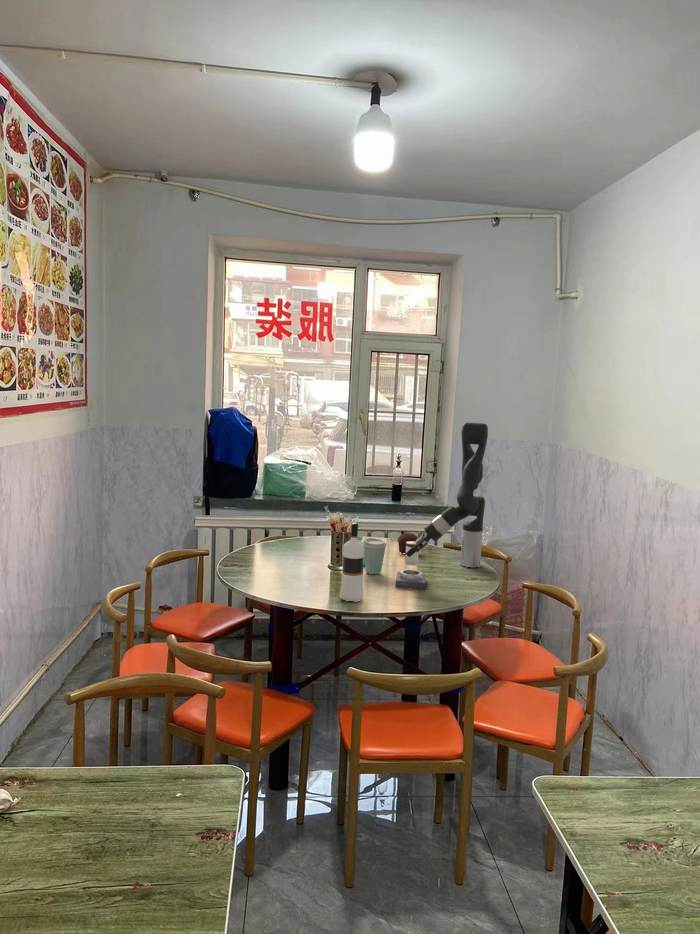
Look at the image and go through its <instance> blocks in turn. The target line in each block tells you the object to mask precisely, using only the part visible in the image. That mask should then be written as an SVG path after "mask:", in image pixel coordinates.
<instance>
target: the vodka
mask: <svg viewBox="0 0 700 934" xmlns="http://www.w3.org/2000/svg"><path fill="white" fill-rule="evenodd" d="M350 531H351V532H350V540H347V541H345V543H344V544H343V546H342V568H341V569H342V572H341V584H340V586H341V587H340V590H339V598H342V599H344V600H349V601H357V600H361V601H363V600H364V586H363V584H364V583H363V581H364V580H363V578H364V565H363V562H364V551H365V548H364V545H363V544H362V543H361V541H360V540H358V539H359V538H358V537H359V535H358V534H359V523H357V522H351V529H350ZM342 599H341V600H342Z"/></svg>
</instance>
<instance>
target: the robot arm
mask: <svg viewBox="0 0 700 934" xmlns="http://www.w3.org/2000/svg"><path fill="white" fill-rule="evenodd" d="M488 436H489V428H488V424H487V423H479V422H465V423H463V424H462V428H461V449H462V450H461V451H462V459H461V460H462V461H461V485H460V487H459V489H458V492H457V496H456V500H457V501H456V502H457V506H454V507H453V506H450V507H448V508H447V509H445V510H444V511H442V512H441V513H440V514H439V515H437V516H436V517H435V518H433V520H431V521H430V522H429V523H428V524H426V526H424V528H423V530H424V531H425V532H424V533H422V534H421V535H420V536H419V537H418V539H417V540H416V541H415V542H416V544H415V545H414V546H413V547H412V548H411V549H410V550H409V551H408V552H407V553H406V555H407V556H408V557H410V556H412V555H413V554H414V553H415V552H418V551H419V552H420V551H421V550H422V549H423V548H424V547H426V546H427V545H428V544H429V543H430V540H432V541H433V542H437V541H439V539H441V538H442V537H443V536H445V534H447V533H448V532H450V531H449V530H451V528H453V527H454V526H455V525H456V524H457V523H458V522H459V521H461V520H463V519H465V518H467V517H470V516H471V517H475V518H474V519H473V520H471V521H470V520H469V521H466V522H464V523H463V524H462V535H461V536H462V537H461V547H460V548H461V552H460V563H459V564H461V565H462V567H463V566H465V568H468V567H471V568H470V569H476V568H475V567H478V568H480V567H481V559H482V558H481V557H482V543H483V527H484V525H483V524H484V515H485V510H486V509H485V508H486V500H485V499H486V498H485V497H483V496H476V495H474V492H475V490H477V489H478V488H479V484H480V483H481V481H482V479H483V476H484V475H483V474H484V473H483V472H484V466H483V460H484V456H485V451H486V448H487V442H488ZM472 445H476V446H477V445H478V446H477V449H476V451H474V450H473V448H472ZM417 546H418V547H419V548H417ZM406 555H405V556H406ZM461 565H460V566H461ZM473 567H474V568H473Z"/></svg>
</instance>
